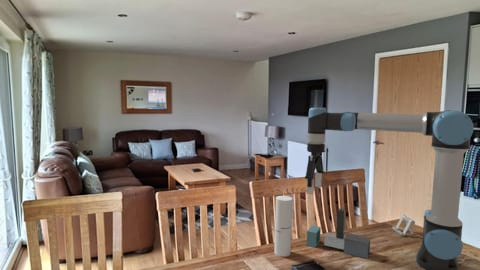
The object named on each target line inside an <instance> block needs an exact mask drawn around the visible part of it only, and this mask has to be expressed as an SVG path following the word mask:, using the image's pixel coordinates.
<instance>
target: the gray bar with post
mask: <svg viewBox="0 0 480 270" xmlns="http://www.w3.org/2000/svg"><path fill="white" fill-rule="evenodd" d="M345 224H346V209H344V208H338V209H337V211H336V231H335V232H336V233H334V232H333V233H331V232H326V233H325V235H324V240H323V241H324V242H323V244H324V245H323V246H327V247H331V248H335V249H339V250H343V251H344V238H345V236H346V235H345V226H346V225H345Z"/></svg>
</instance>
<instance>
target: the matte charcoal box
mask: <svg viewBox="0 0 480 270" xmlns="http://www.w3.org/2000/svg"><path fill="white" fill-rule="evenodd" d="M344 236H345V238H344V250H343V254H345V255H349V256H352V257H353V256H354V257H357V258H358V257H359V258H363V259H367V260H368V259H369V255H370V253H371V252H370V248H371V237H370V236H366V235H365V236H364V235H359V234H355V233H351V232H350V233H349V232H347V233H346V235H344Z"/></svg>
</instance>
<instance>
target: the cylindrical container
mask: <svg viewBox="0 0 480 270" xmlns="http://www.w3.org/2000/svg"><path fill="white" fill-rule="evenodd" d="M274 214H275V215H274V216H275V218H274V219H275V222H274V254H275V255H276V256H278V257H283V258H284V257H285V258H286V257H289V256H290V255H291V248H292V224H293V223H292V219H293V197H292V196H288V195H277V196H276V197H275V213H274Z"/></svg>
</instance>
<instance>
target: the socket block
mask: <svg viewBox="0 0 480 270" xmlns="http://www.w3.org/2000/svg"><path fill="white" fill-rule="evenodd" d="M321 229H322V228H321V226H318V225H313V224H312V225H311V226H310V227H309V228H308V230H306V246H308V247H312V248H316V247H317V246H318V245H319V243H320V242H321V233H322V232H321V231H322V230H321Z"/></svg>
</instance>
